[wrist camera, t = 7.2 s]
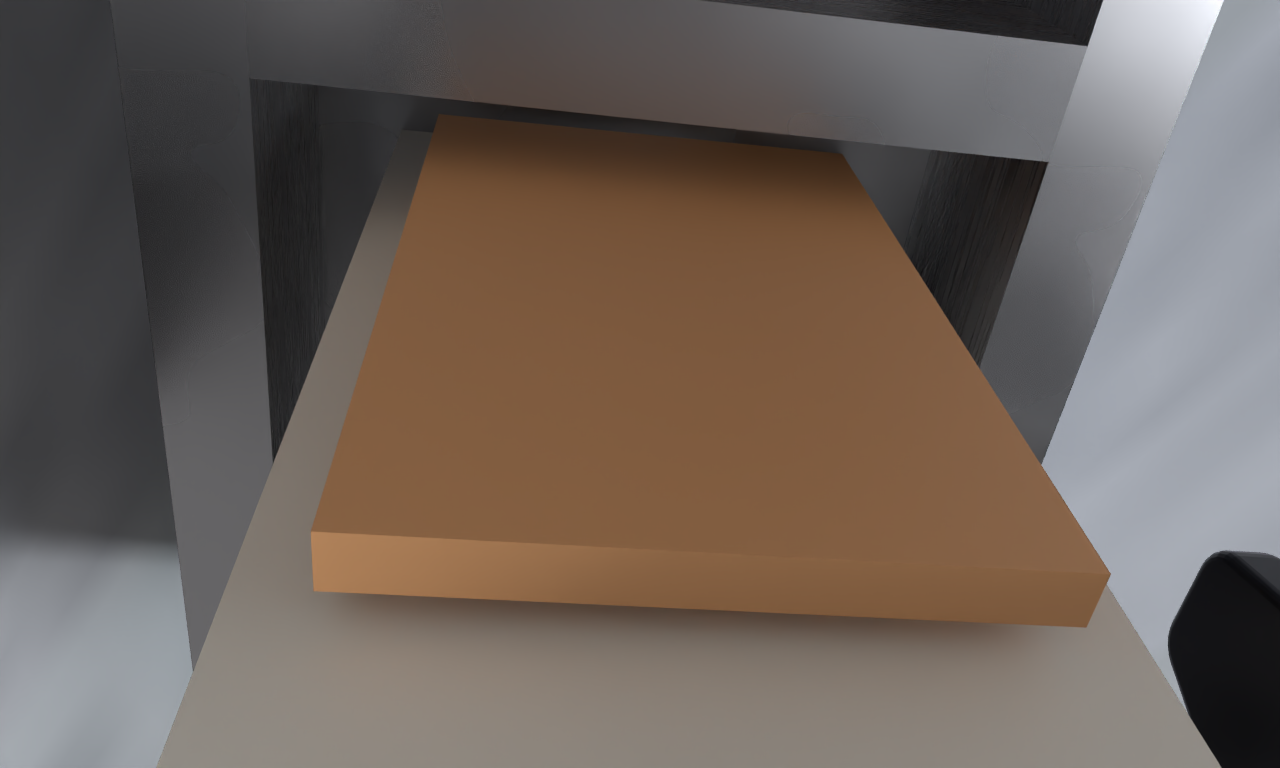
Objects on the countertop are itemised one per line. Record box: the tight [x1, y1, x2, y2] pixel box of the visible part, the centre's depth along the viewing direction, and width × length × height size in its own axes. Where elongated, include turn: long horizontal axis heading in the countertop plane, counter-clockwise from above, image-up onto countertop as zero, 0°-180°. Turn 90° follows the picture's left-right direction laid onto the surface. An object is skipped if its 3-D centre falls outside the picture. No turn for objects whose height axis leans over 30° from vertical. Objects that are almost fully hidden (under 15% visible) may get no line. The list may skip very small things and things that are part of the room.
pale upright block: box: [156, 114, 1221, 768], centre depth 8 cm, size 4×4×7 cm
